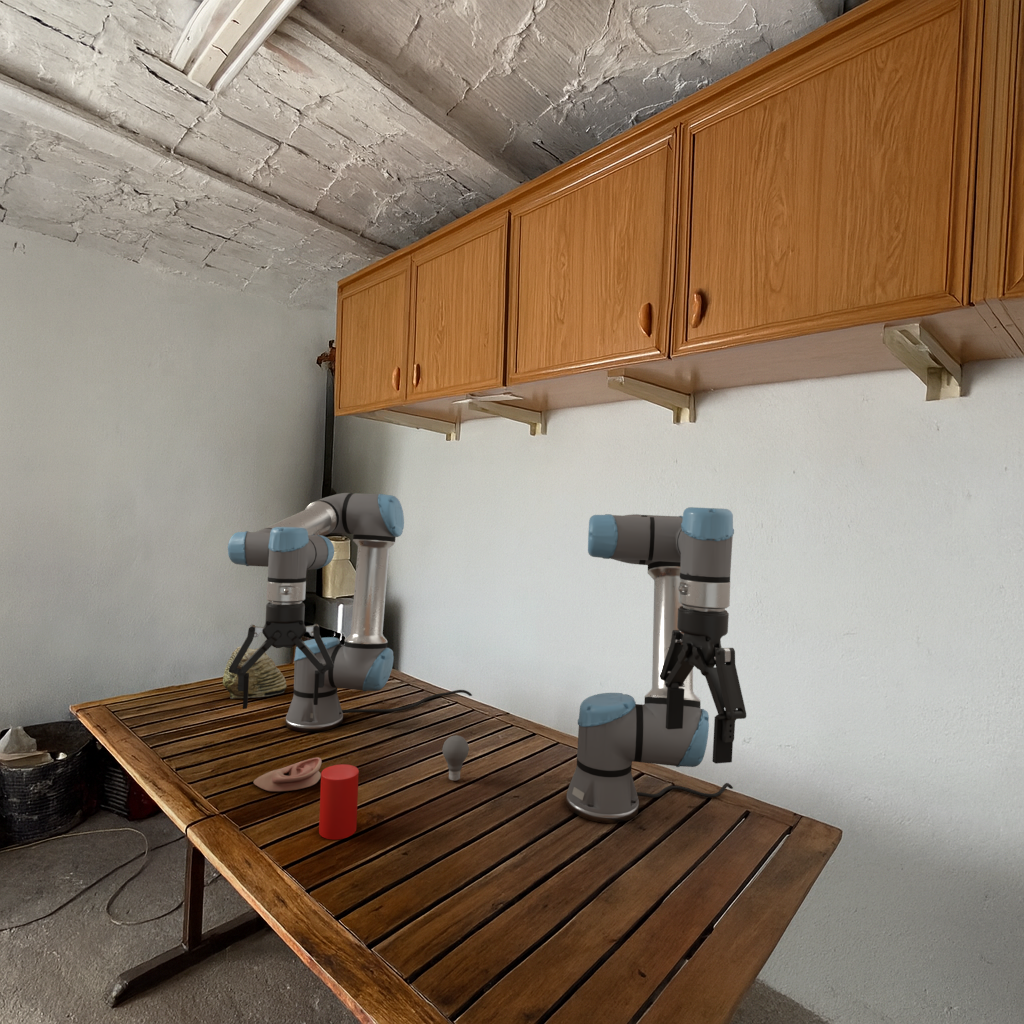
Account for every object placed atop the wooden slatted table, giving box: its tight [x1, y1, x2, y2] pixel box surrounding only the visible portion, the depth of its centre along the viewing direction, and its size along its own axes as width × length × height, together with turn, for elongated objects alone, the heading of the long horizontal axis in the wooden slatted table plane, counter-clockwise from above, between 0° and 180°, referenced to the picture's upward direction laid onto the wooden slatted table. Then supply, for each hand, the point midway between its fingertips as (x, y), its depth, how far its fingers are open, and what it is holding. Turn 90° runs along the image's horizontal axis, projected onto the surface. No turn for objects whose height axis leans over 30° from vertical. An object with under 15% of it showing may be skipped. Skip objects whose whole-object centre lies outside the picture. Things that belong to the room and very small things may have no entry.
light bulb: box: [442, 734, 470, 782], centre depth 144 cm, size 6×6×10 cm
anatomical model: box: [253, 757, 323, 792], centre depth 140 cm, size 13×4×12 cm
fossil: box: [222, 646, 288, 699], centre depth 198 cm, size 9×18×15 cm, turn 132°
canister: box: [318, 763, 360, 841], centre depth 121 cm, size 7×7×11 cm
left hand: (280, 705), depth 130 cm, fingers open, 13 cm apart
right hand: (696, 744), depth 98 cm, fingers open, 13 cm apart
